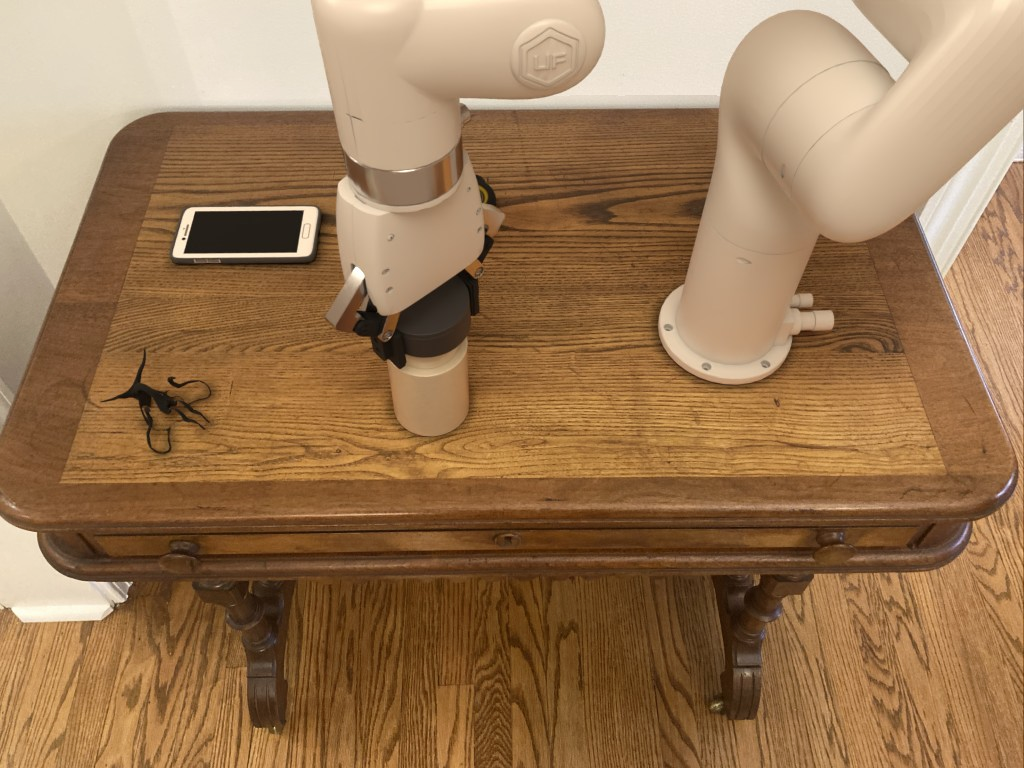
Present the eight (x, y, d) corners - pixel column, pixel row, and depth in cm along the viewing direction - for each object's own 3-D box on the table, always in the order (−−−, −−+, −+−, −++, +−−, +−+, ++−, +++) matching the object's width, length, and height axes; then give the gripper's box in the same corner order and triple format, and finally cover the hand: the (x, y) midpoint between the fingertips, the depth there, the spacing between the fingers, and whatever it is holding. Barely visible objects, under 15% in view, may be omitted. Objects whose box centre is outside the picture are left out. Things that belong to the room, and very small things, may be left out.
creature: (233, 401, 79) (155, 364, 79) (229, 371, 74) (147, 332, 74) (184, 470, 74) (102, 431, 75) (177, 443, 70) (90, 401, 70)
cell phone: (315, 264, 87) (313, 257, 86) (169, 265, 87) (166, 259, 86) (323, 211, 91) (321, 204, 91) (185, 212, 91) (182, 205, 90)
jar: (467, 373, 79) (465, 289, 70) (470, 435, 75) (468, 355, 66) (394, 376, 79) (382, 292, 70) (393, 438, 75) (380, 359, 66)
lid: (422, 373, 65) (418, 350, 63) (365, 322, 68) (360, 298, 66) (489, 323, 68) (487, 300, 65) (432, 276, 71) (429, 252, 68)
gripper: (467, 71, 59) (477, 251, 74) (254, 190, 52) (312, 363, 67) (543, 121, 56) (538, 299, 70) (327, 255, 49) (371, 422, 64)
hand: (428, 329), depth 69 cm, fingers closed on lid, 7 cm apart
